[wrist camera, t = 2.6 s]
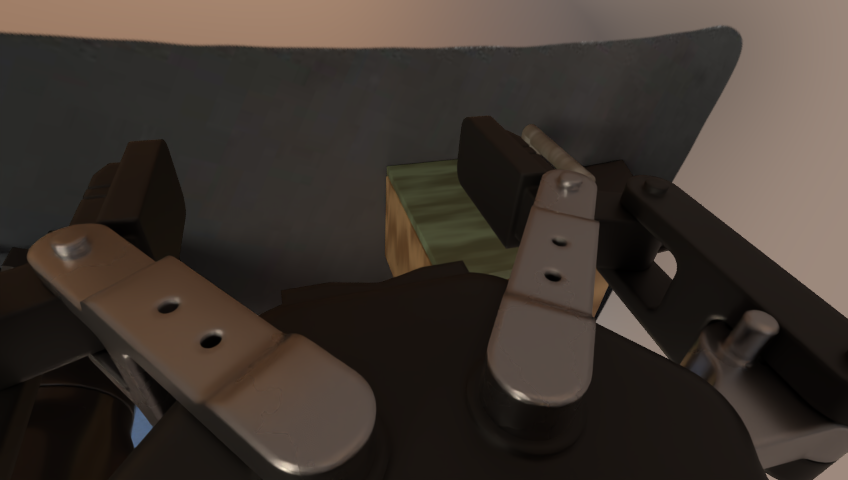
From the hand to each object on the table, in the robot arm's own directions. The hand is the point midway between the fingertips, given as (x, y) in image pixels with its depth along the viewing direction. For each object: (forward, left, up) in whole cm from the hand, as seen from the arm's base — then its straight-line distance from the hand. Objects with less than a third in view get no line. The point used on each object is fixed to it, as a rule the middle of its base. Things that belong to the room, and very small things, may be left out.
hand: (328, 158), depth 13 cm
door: (+22, -6, -29) cm, 36 cm away
